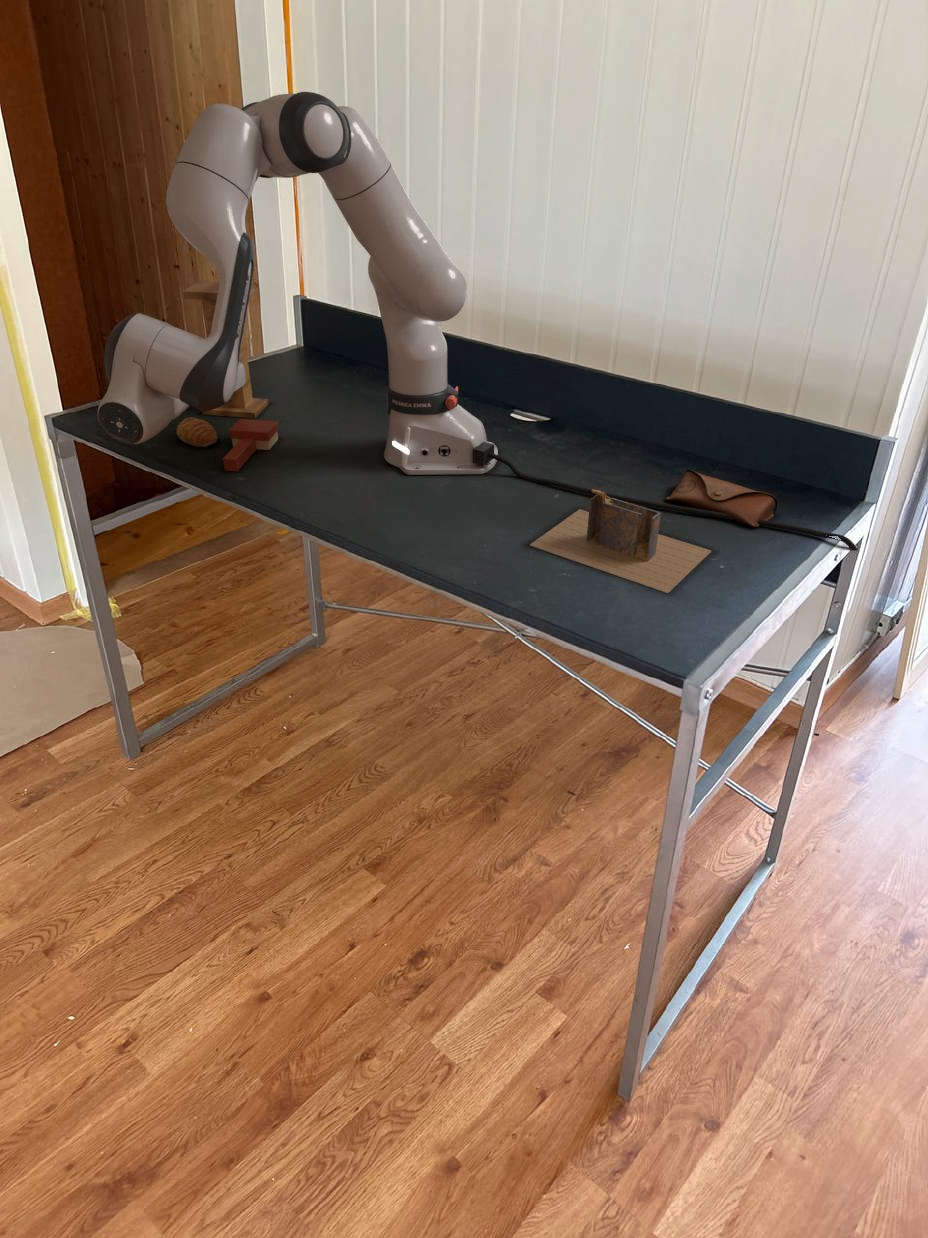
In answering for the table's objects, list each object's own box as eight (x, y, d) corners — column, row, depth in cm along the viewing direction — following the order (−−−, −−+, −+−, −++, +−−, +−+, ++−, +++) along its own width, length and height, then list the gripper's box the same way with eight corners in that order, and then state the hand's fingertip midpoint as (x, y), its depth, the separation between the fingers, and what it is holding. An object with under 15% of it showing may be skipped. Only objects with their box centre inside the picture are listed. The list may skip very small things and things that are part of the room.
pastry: (227, 442, 187) (224, 424, 184) (198, 452, 183) (194, 434, 180) (202, 430, 192) (199, 412, 190) (173, 439, 188) (170, 421, 186)
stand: (268, 404, 205) (254, 283, 191) (255, 418, 198) (239, 293, 183) (217, 400, 207) (199, 280, 192) (202, 414, 199) (182, 291, 185)
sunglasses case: (662, 498, 165) (675, 462, 164) (675, 504, 171) (688, 470, 170) (757, 528, 156) (772, 490, 155) (767, 534, 162) (782, 497, 161)
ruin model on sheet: (529, 545, 151) (531, 491, 146) (579, 509, 163) (583, 457, 157) (667, 593, 139) (676, 536, 134) (712, 550, 150) (721, 496, 145)
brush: (279, 439, 188) (277, 421, 186) (250, 472, 175) (248, 453, 173) (242, 436, 189) (240, 418, 187) (211, 469, 176) (208, 450, 174)
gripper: (225, 371, 143) (256, 344, 155) (103, 364, 146) (142, 338, 157) (231, 410, 147) (261, 381, 158) (111, 402, 150) (149, 374, 161)
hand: (200, 359), depth 158 cm, fingers open, 8 cm apart
